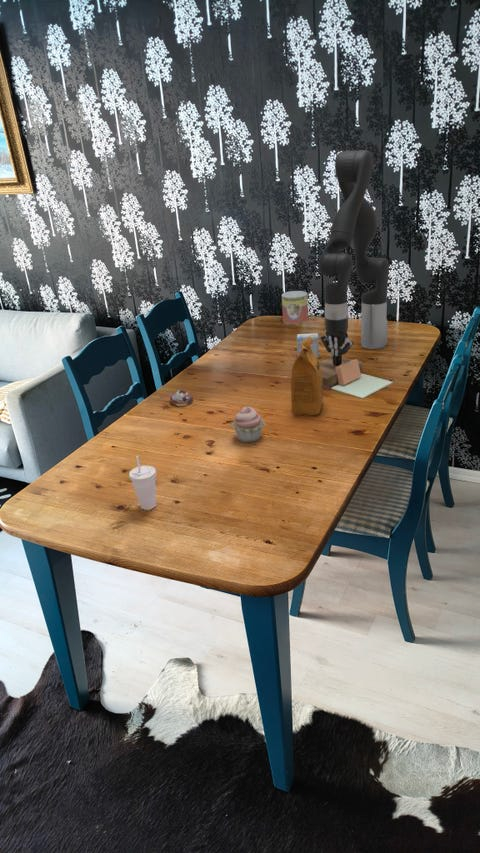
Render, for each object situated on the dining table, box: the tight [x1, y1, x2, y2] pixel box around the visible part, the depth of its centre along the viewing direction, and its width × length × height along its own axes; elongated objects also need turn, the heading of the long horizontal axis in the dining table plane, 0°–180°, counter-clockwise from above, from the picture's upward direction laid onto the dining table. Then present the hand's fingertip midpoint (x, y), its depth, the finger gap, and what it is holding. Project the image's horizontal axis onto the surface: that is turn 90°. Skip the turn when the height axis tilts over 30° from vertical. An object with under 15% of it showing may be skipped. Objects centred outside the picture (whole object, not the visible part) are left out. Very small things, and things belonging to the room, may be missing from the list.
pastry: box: [169, 388, 194, 408], centre depth 205 cm, size 8×8×5 cm
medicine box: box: [296, 332, 320, 359], centre depth 232 cm, size 8×4×9 cm, turn 84°
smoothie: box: [128, 455, 157, 511], centre depth 148 cm, size 6×6×14 cm
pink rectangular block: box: [335, 358, 361, 385], centre depth 207 cm, size 9×6×2 cm
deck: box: [319, 356, 363, 391], centre depth 213 cm, size 18×12×4 cm, turn 132°
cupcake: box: [231, 406, 265, 444], centre depth 176 cm, size 9×9×10 cm
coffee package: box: [290, 337, 324, 416], centre depth 188 cm, size 10×12×22 cm
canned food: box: [281, 290, 309, 325], centre depth 274 cm, size 11×11×12 cm
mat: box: [330, 372, 394, 400], centre depth 205 cm, size 16×13×1 cm
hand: (337, 365), depth 210 cm, fingers closed
